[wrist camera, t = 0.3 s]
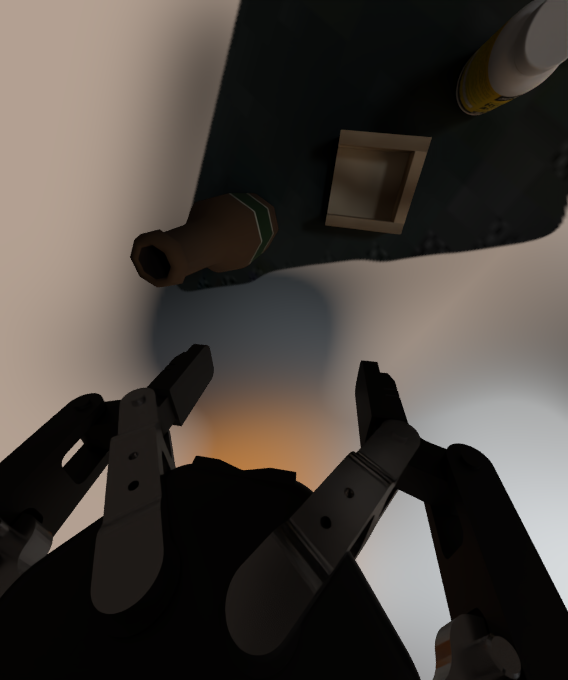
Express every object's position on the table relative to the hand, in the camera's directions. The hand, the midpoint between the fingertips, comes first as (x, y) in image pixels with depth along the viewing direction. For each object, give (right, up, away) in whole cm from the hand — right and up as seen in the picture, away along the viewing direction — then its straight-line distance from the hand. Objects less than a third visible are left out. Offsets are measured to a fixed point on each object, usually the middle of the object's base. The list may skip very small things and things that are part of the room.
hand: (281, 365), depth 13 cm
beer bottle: (-4, +19, +23) cm, 30 cm away
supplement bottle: (+21, +28, +12) cm, 37 cm away
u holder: (+11, +21, +18) cm, 30 cm away
